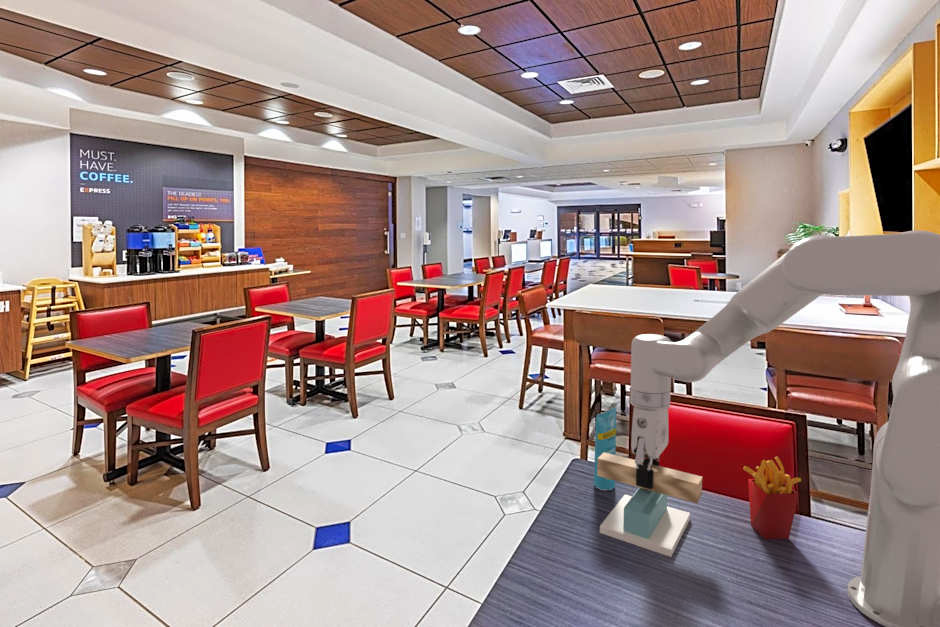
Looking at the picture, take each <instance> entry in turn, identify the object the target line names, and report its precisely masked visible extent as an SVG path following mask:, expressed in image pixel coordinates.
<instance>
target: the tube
mask: <svg viewBox="0 0 940 627" xmlns="http://www.w3.org/2000/svg"><path fill="white" fill-rule="evenodd" d="M616 439H617V406H615V407H612V408H611V409H609V410H606V411H603V412H602V413H599V414H597V415H595V432H594V466H593V467H594V468H593V470H594V471H593V473H594V474H593V475H594V476H593V486H594V485H595V486H596V487H598V488H600V489H605V490H606V489H607V490H610V489H613V488H614V487H615V486H616V481H614V480H611V479H607V478H603V477H600V476H597V465H598V457H599V456H600V455H601V454H603V453H604V452H605V453H609V454H613V455H616V452H617V450H616V447H617V443H616V442H617V440H616ZM595 486H594V487H595ZM596 487H595V488H596ZM615 488H616V487H615ZM615 488H614V489H615ZM614 489H613V490H614Z"/></svg>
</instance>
